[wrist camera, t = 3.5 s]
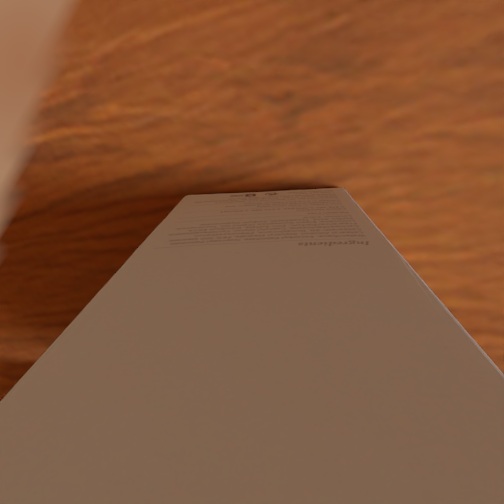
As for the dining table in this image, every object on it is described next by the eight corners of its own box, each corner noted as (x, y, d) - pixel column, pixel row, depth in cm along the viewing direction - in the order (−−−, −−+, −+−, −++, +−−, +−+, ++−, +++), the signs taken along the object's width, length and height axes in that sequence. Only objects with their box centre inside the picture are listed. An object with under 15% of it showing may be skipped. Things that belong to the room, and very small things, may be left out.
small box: (182, 192, 14) (-326, 699, 2) (346, 184, 14) (909, 762, 2) (205, 360, 17) (52, 962, 5) (340, 357, 17) (521, 1007, 5)
